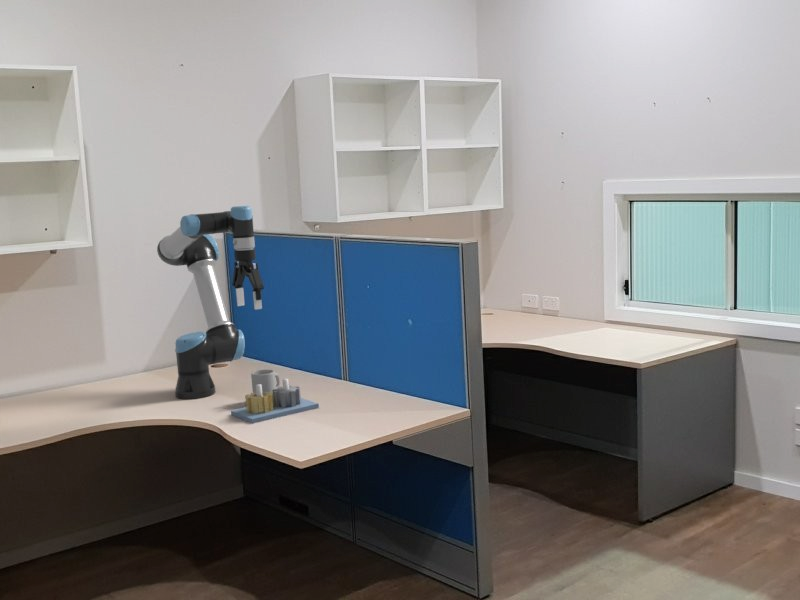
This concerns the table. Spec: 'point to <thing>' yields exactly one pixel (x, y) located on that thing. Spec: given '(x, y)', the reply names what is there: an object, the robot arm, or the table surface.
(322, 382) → the table surface
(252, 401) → the brass gear
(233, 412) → the gear board
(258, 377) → the mug
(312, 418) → the table surface
